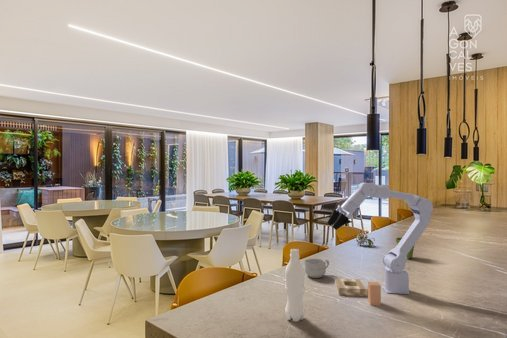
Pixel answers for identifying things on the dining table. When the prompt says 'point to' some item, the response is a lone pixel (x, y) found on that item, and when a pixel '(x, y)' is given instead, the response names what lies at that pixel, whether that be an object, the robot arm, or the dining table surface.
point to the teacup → (316, 267)
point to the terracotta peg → (374, 293)
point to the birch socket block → (351, 287)
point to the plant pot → (409, 251)
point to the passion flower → (363, 239)
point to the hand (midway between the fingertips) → (331, 226)
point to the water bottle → (294, 287)
